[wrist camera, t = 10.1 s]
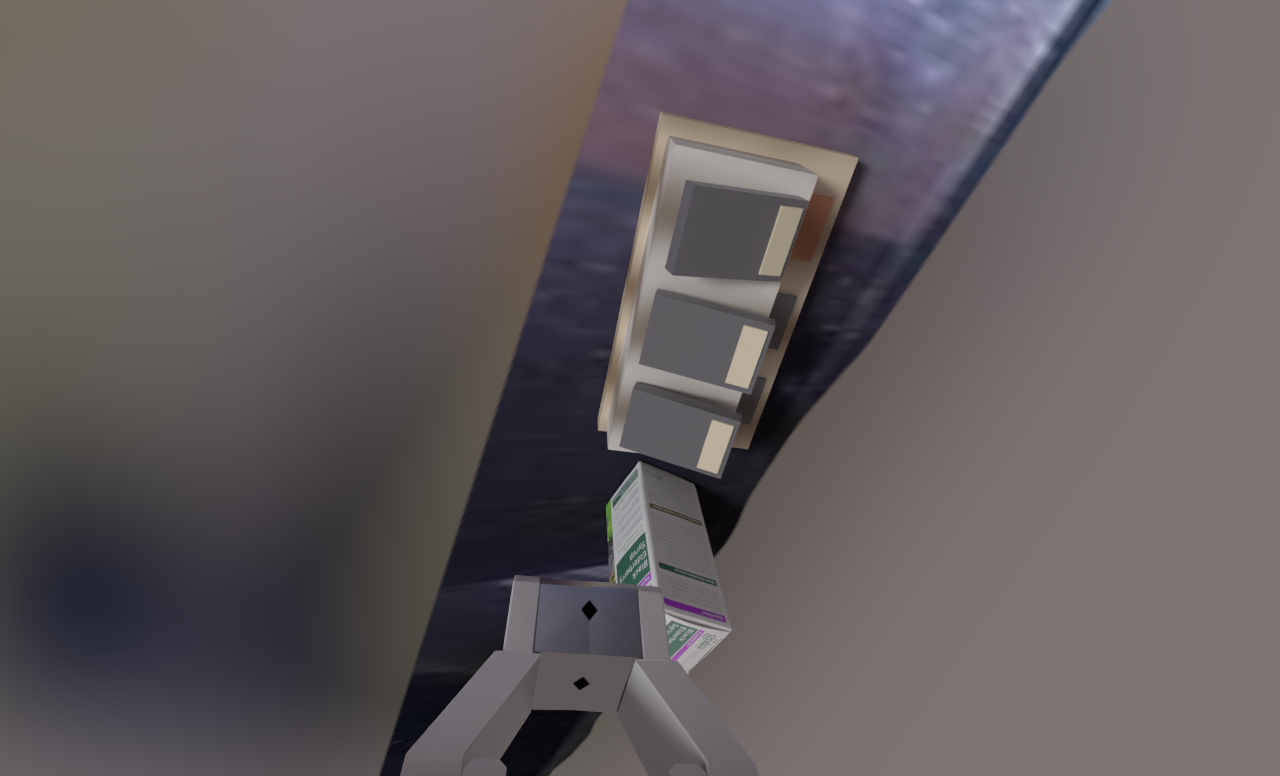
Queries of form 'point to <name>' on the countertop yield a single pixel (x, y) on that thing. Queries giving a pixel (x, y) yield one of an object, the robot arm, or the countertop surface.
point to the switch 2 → (679, 429)
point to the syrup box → (668, 558)
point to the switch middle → (706, 341)
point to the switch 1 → (734, 232)
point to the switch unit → (737, 163)
